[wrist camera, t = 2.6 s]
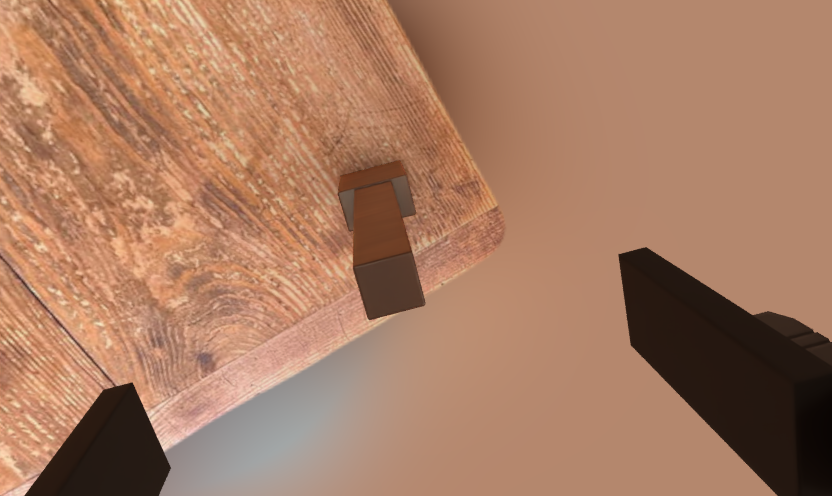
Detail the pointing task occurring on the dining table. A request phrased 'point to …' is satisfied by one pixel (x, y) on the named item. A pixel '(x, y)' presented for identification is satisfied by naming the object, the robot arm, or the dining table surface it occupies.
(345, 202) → the stirring stick
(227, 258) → the dining table surface
